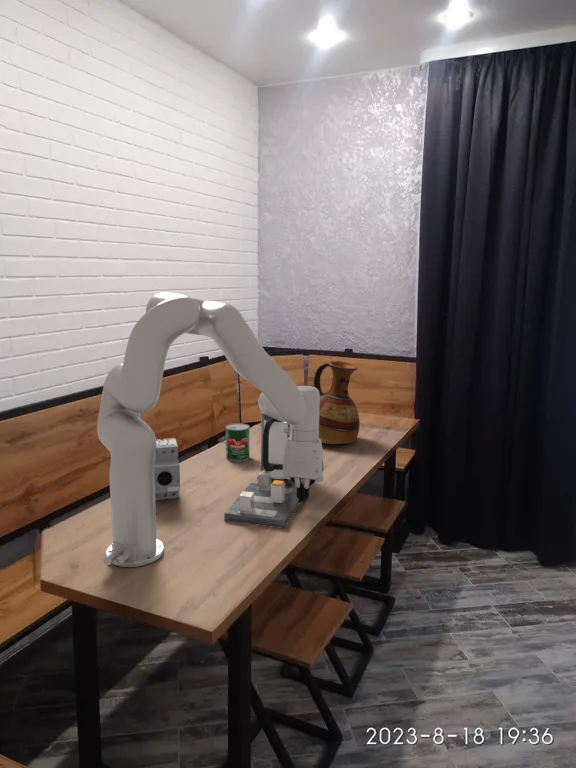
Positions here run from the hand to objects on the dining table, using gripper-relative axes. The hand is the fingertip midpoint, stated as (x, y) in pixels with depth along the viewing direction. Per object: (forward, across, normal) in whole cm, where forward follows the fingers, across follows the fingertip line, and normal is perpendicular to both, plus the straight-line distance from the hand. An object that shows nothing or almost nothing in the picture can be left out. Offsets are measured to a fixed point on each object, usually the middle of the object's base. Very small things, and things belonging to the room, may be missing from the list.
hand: (302, 500), depth 155 cm
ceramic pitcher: (+3, -4, +64) cm, 64 cm away
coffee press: (+3, -12, +21) cm, 24 cm away
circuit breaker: (+3, -39, -2) cm, 39 cm away
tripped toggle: (+1, -7, 0) cm, 7 cm away
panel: (+3, -10, 0) cm, 10 cm away
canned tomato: (+3, -31, +36) cm, 48 cm away
